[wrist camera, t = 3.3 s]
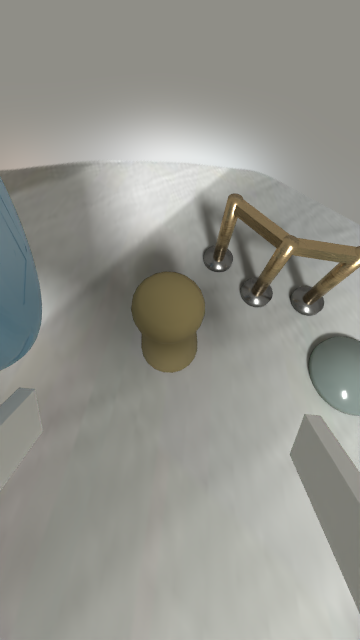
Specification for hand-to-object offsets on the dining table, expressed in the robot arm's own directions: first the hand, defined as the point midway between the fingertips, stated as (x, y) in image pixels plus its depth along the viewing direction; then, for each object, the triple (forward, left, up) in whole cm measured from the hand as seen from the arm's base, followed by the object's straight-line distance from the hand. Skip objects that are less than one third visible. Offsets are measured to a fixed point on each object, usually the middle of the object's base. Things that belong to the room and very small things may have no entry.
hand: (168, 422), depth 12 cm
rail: (+8, +17, -12) cm, 22 cm away
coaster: (+18, +7, -12) cm, 22 cm away
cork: (-1, +7, -12) cm, 14 cm away
